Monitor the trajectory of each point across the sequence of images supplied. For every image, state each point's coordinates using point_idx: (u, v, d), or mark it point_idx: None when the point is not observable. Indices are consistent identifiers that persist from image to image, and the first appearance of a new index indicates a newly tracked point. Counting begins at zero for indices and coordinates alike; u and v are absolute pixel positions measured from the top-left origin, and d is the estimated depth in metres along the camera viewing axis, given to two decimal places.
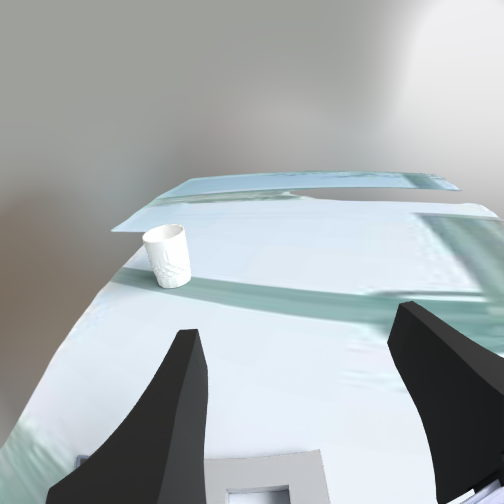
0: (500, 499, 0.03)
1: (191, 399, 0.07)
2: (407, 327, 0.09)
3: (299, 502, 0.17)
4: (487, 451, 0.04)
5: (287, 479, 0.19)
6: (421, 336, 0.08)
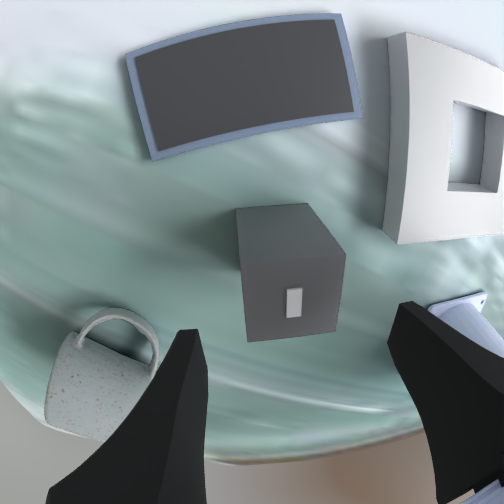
0: (500, 499, 0.03)
1: (191, 399, 0.07)
2: (407, 327, 0.09)
3: None
4: (487, 451, 0.04)
5: None
6: (421, 336, 0.08)
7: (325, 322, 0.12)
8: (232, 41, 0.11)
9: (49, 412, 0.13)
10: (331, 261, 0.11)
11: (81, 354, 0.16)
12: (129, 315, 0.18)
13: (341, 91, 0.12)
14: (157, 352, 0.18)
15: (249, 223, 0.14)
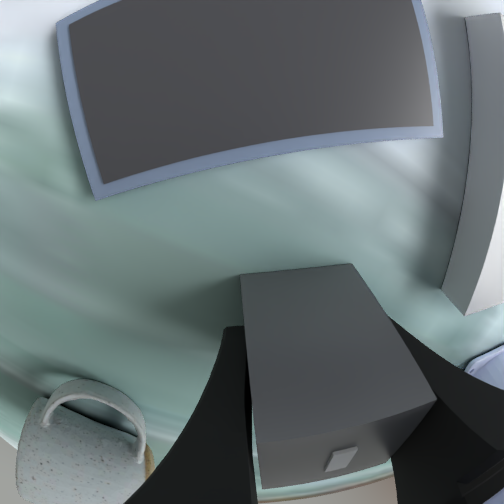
0: (500, 499, 0.03)
1: (247, 396, 0.07)
2: None
3: None
4: (446, 476, 0.04)
5: None
6: None
7: (376, 460, 0.06)
8: None
9: (23, 495, 0.07)
10: (413, 412, 0.05)
11: (49, 435, 0.10)
12: (102, 394, 0.11)
13: (417, 89, 0.07)
14: (143, 435, 0.12)
15: (266, 319, 0.08)
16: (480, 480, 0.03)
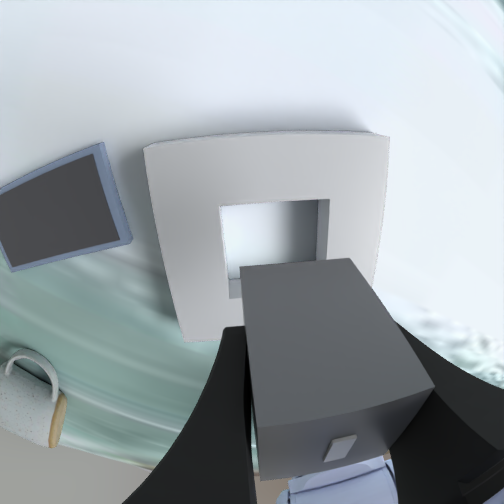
0: (500, 499, 0.03)
1: (246, 396, 0.07)
2: None
3: (340, 234, 0.15)
4: (447, 475, 0.04)
5: (329, 189, 0.14)
6: None
7: (374, 452, 0.07)
8: (29, 190, 0.14)
9: None
10: (411, 399, 0.05)
11: (7, 379, 0.18)
12: (32, 356, 0.20)
13: (106, 223, 0.15)
14: (53, 383, 0.20)
15: (265, 308, 0.08)
16: (480, 480, 0.03)
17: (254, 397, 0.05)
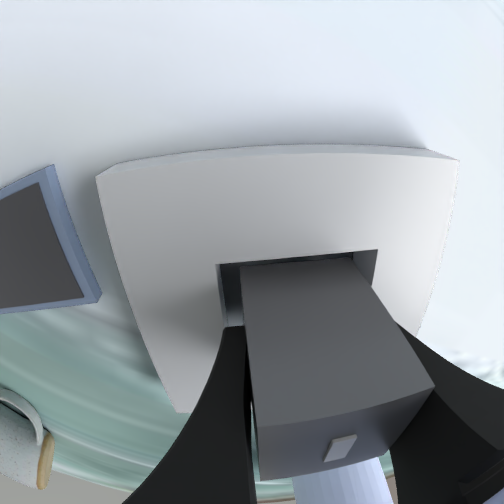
0: (500, 499, 0.03)
1: (246, 396, 0.07)
2: None
3: (385, 294, 0.10)
4: (447, 475, 0.04)
5: (378, 236, 0.09)
6: None
7: (375, 452, 0.07)
8: None
9: None
10: (411, 399, 0.05)
11: None
12: (11, 398, 0.15)
13: (65, 275, 0.10)
14: (35, 427, 0.15)
15: (265, 308, 0.08)
16: (481, 480, 0.03)
17: (254, 397, 0.05)
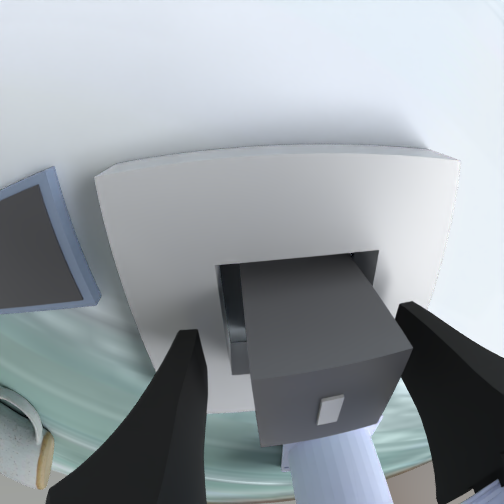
0: (500, 499, 0.03)
1: (191, 399, 0.07)
2: (407, 327, 0.09)
3: (386, 295, 0.10)
4: (488, 451, 0.04)
5: (379, 236, 0.09)
6: (421, 336, 0.08)
7: (366, 419, 0.08)
8: None
9: None
10: (391, 359, 0.06)
11: None
12: (10, 397, 0.15)
13: (64, 277, 0.10)
14: (35, 426, 0.15)
15: (260, 284, 0.09)
16: None
17: (249, 355, 0.07)
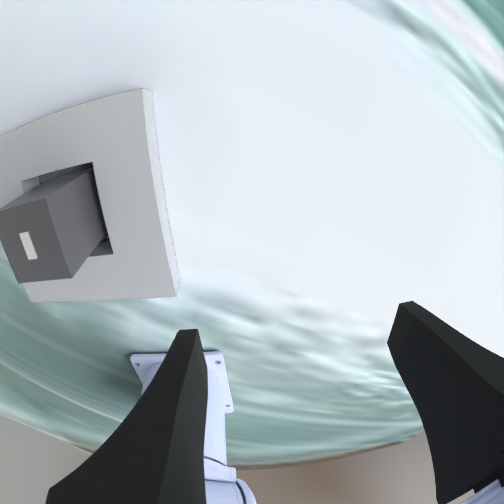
0: (500, 499, 0.03)
1: (191, 399, 0.07)
2: (407, 327, 0.09)
3: (110, 195, 0.14)
4: (487, 451, 0.04)
5: (89, 153, 0.13)
6: (421, 336, 0.08)
7: (59, 267, 0.11)
8: None
9: None
10: (37, 205, 0.10)
11: None
12: None
13: None
14: None
15: (35, 188, 0.13)
16: None
17: (0, 208, 0.10)
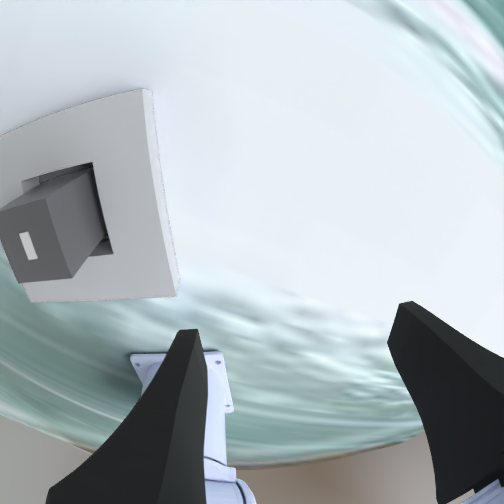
0: (500, 499, 0.03)
1: (191, 399, 0.07)
2: (407, 327, 0.09)
3: (110, 195, 0.14)
4: (487, 451, 0.04)
5: (89, 153, 0.13)
6: (421, 336, 0.08)
7: (59, 267, 0.11)
8: None
9: None
10: (37, 205, 0.10)
11: None
12: None
13: None
14: None
15: (35, 188, 0.13)
16: None
17: (0, 209, 0.10)
